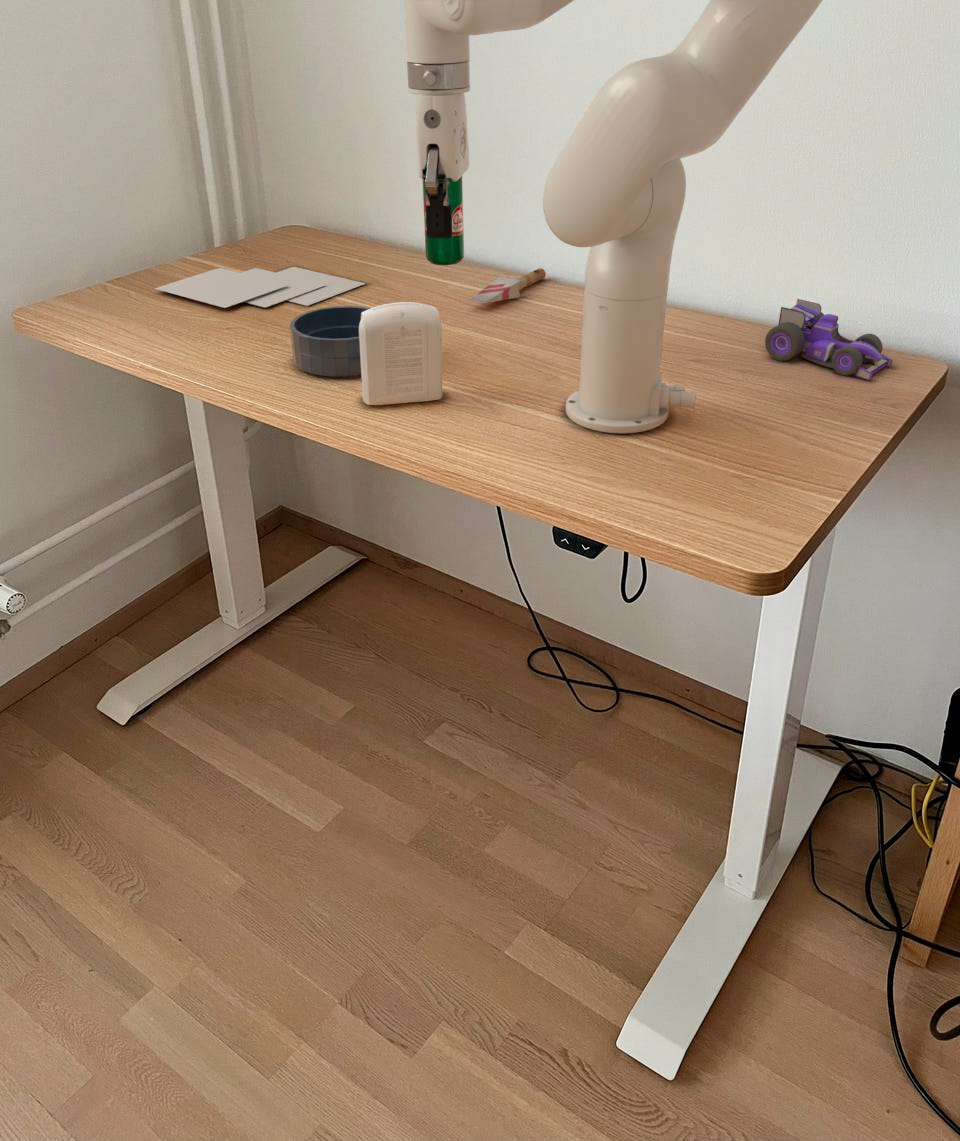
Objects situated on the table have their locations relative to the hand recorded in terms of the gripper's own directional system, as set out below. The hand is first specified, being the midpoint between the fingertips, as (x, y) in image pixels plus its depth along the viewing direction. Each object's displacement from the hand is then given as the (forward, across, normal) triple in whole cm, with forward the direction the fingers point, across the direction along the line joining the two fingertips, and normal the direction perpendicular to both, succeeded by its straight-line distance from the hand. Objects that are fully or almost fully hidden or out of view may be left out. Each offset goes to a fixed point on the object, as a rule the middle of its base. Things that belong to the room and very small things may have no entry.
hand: (444, 230), depth 133 cm
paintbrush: (+17, +29, -5) cm, 34 cm away
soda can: (+4, 0, 0) cm, 4 cm away
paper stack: (+17, +25, +36) cm, 47 cm away
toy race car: (+18, +7, -52) cm, 55 cm away
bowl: (+17, -4, +14) cm, 22 cm away
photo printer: (+18, -15, +3) cm, 23 cm away
